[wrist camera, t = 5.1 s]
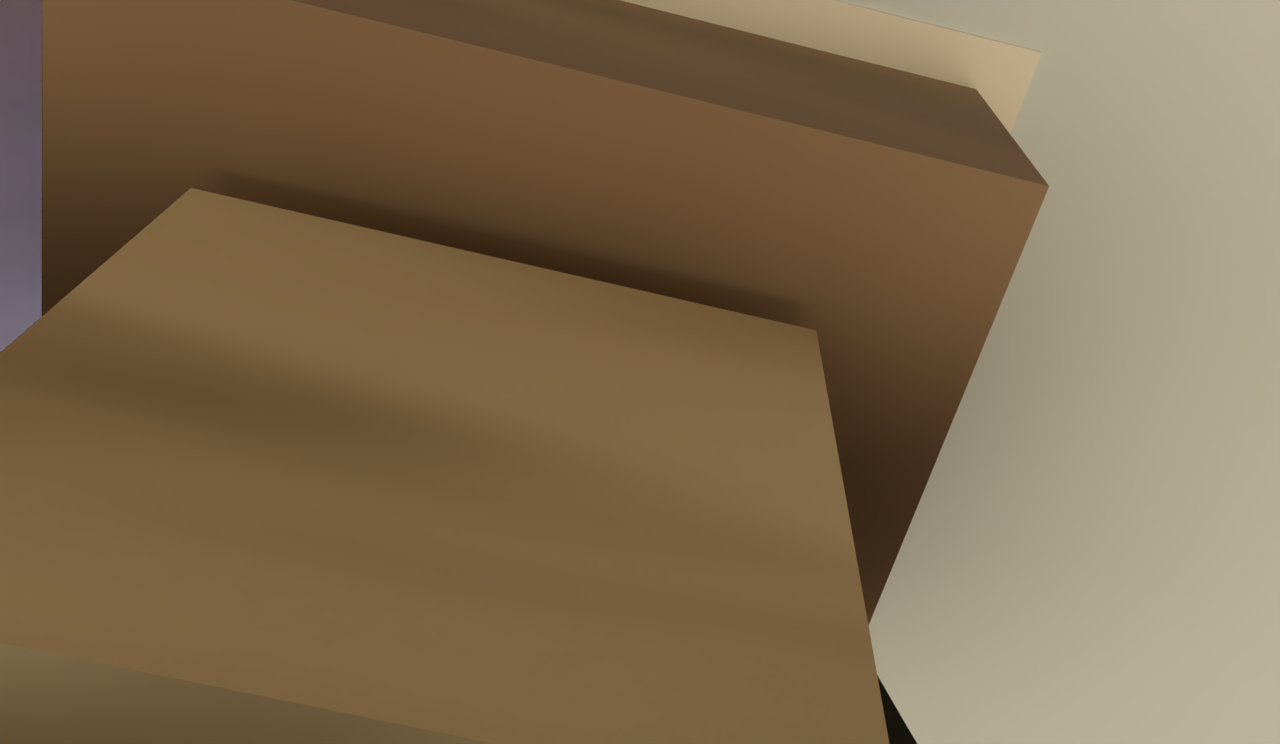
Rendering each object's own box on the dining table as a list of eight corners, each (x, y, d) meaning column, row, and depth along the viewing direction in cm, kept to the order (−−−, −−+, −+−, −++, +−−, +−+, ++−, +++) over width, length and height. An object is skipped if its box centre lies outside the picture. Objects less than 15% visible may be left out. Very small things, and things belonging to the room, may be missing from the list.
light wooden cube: (671, 775, 12) (646, 1381, 8) (165, 671, 12) (-169, 1240, 7) (815, 330, 10) (903, 827, 5) (190, 188, 9) (-273, 587, 5)
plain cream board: (1338, 1150, 22) (1362, 1205, 21) (94, 905, 20) (69, 953, 19) (2225, 133, 13) (2325, 158, 12) (136, -421, 11) (94, -433, 11)
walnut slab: (760, 674, 16) (771, 861, 13) (155, 544, 16) (42, 711, 13) (976, 89, 12) (1049, 186, 10) (191, -107, 12) (42, -62, 9)
